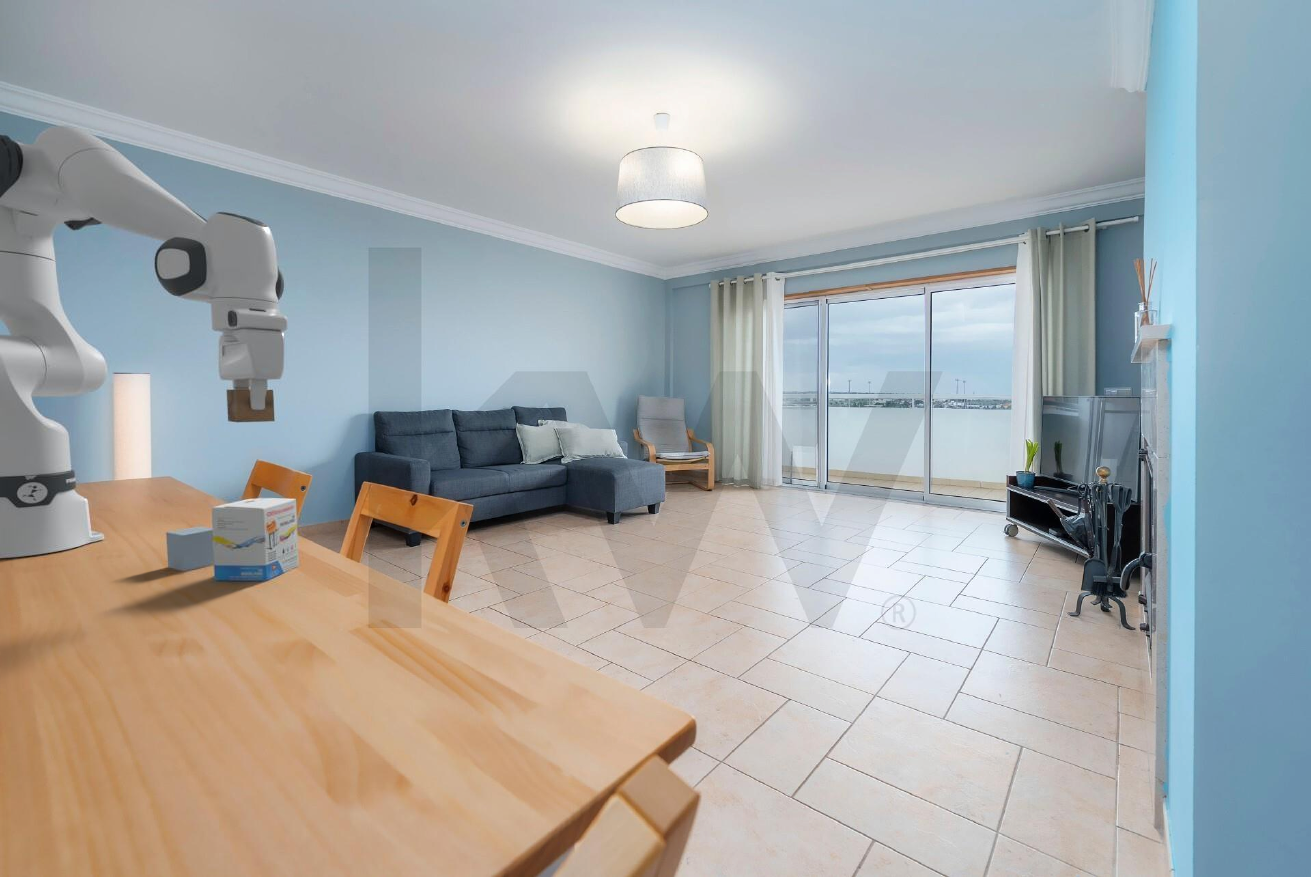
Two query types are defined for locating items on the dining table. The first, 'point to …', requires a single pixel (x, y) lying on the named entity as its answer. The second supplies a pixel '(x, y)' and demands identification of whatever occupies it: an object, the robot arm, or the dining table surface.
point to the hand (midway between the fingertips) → (250, 409)
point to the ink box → (254, 539)
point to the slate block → (190, 548)
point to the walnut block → (241, 410)
